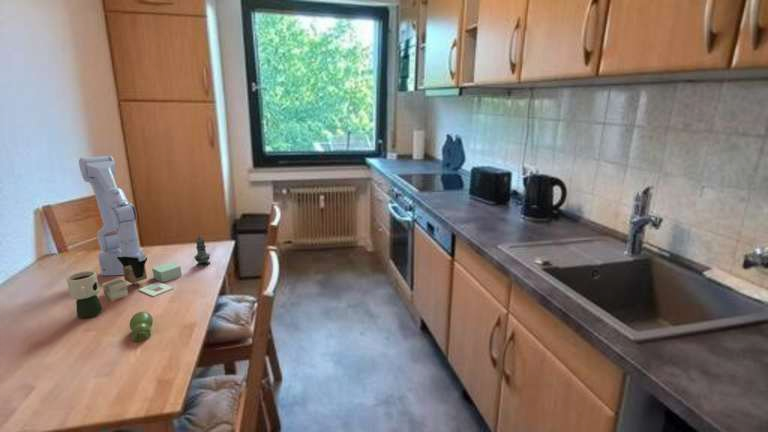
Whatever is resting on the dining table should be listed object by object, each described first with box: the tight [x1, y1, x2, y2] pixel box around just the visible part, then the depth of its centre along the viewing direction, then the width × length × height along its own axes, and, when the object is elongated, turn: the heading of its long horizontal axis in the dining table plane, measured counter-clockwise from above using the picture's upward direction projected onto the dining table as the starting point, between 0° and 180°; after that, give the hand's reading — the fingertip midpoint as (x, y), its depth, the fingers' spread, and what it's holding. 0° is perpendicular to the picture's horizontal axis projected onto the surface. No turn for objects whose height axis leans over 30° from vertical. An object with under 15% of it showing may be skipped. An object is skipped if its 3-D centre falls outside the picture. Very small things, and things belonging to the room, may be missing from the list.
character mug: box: [66, 270, 103, 318], centre depth 120 cm, size 11×7×13 cm, turn 34°
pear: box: [129, 311, 154, 342], centre depth 111 cm, size 6×5×10 cm
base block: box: [151, 261, 183, 283], centre depth 148 cm, size 7×7×4 cm
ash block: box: [101, 278, 129, 302], centre depth 133 cm, size 5×5×5 cm
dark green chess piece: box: [193, 235, 211, 268], centre depth 158 cm, size 6×6×12 cm
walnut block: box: [122, 265, 148, 284], centre depth 141 cm, size 5×5×5 cm
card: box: [138, 281, 174, 298], centre depth 138 cm, size 9×7×1 cm
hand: (135, 275), depth 141 cm, fingers closed on walnut block, 5 cm apart
